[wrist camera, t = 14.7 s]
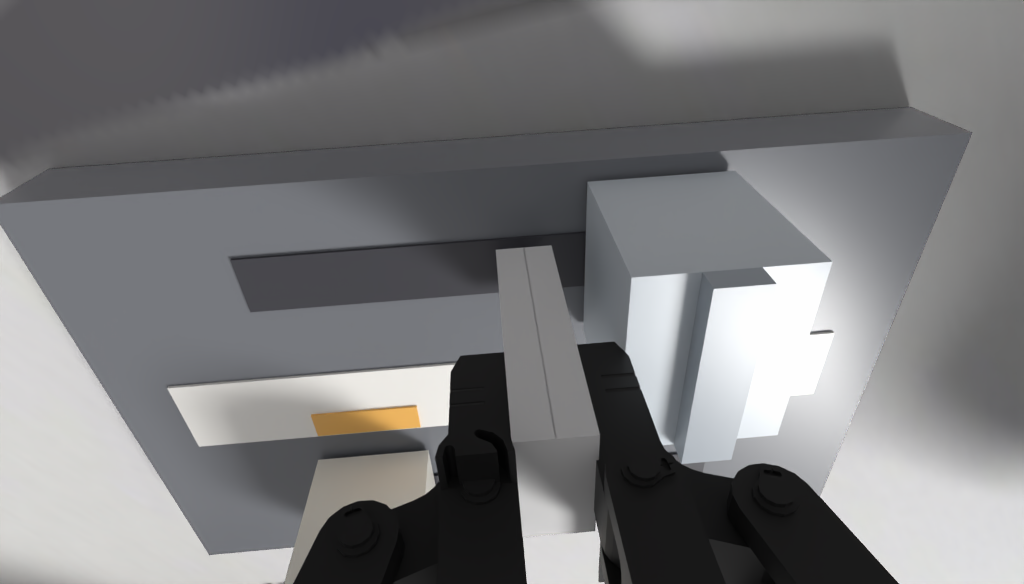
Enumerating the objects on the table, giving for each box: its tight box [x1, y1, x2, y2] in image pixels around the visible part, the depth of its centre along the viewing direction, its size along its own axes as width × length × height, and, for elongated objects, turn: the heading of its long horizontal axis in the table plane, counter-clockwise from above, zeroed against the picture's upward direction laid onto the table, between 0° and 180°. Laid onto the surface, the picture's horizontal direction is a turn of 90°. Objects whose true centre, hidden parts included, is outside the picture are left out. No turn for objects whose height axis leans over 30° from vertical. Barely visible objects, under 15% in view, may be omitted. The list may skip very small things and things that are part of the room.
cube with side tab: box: [583, 171, 832, 464], centre depth 14 cm, size 4×5×5 cm
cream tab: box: [284, 450, 435, 584], centre depth 19 cm, size 4×5×5 cm
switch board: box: [0, 107, 972, 555], centre depth 20 cm, size 26×16×3 cm, turn 93°
